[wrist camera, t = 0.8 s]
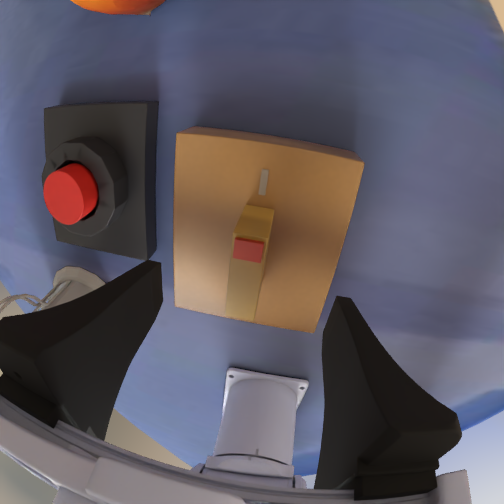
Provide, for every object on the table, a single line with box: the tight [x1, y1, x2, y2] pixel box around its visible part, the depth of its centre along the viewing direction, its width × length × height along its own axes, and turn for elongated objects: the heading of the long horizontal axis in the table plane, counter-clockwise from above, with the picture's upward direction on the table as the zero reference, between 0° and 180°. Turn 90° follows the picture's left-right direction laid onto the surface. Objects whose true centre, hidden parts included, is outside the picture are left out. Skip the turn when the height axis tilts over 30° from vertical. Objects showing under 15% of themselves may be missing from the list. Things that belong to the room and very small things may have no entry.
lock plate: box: [173, 126, 365, 333], centre depth 19 cm, size 12×10×3 cm
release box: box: [42, 101, 159, 261], centre depth 19 cm, size 11×9×4 cm
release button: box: [44, 163, 99, 225], centre depth 17 cm, size 4×4×2 cm
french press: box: [0, 266, 106, 313], centre depth 16 cm, size 10×12×25 cm
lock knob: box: [225, 205, 275, 321], centre depth 16 cm, size 5×2×4 cm, turn 173°
